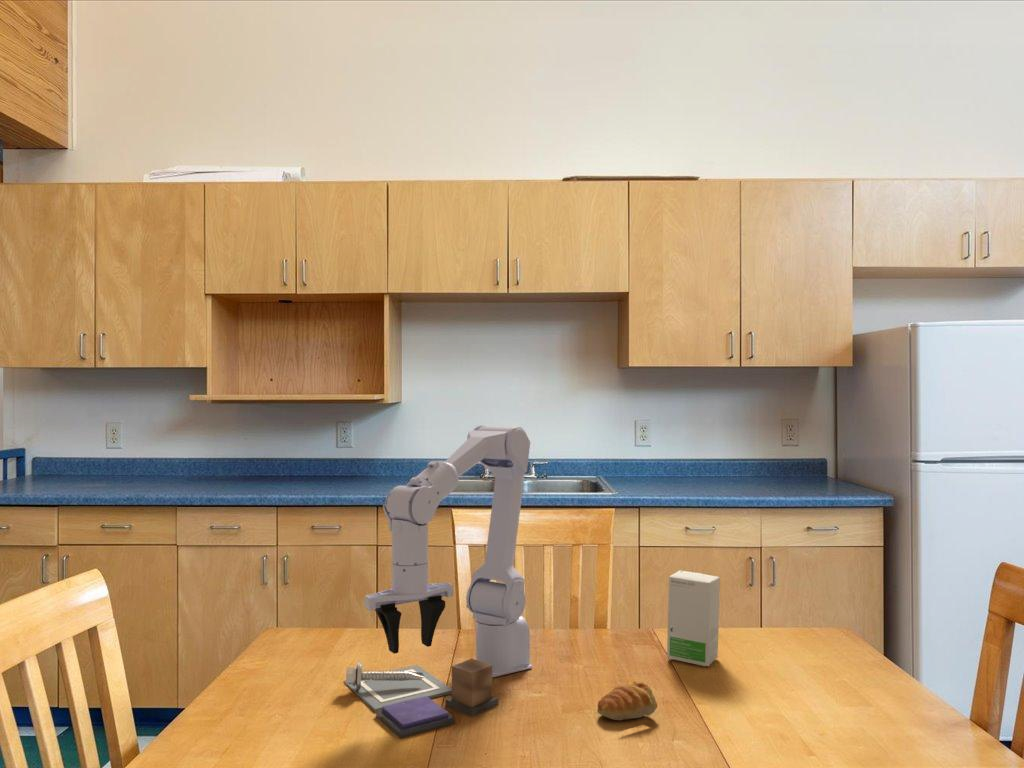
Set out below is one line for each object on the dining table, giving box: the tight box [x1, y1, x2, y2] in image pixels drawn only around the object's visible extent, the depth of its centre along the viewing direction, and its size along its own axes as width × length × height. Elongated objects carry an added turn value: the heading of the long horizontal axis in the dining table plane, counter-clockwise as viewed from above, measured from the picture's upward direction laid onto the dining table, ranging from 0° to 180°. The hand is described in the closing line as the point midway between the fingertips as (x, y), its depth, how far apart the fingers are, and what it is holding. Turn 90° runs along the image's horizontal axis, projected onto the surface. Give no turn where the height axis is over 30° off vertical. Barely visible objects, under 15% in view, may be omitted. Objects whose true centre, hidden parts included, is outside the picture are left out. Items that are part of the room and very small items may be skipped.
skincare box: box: [666, 569, 721, 667], centre depth 145 cm, size 8×7×16 cm
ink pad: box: [375, 696, 456, 739], centre depth 118 cm, size 9×9×2 cm
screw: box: [345, 660, 424, 692], centre depth 129 cm, size 13×5×5 cm, turn 101°
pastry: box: [596, 681, 658, 721], centre depth 120 cm, size 9×7×4 cm
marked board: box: [343, 664, 452, 713], centre depth 130 cm, size 14×14×1 cm
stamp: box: [445, 658, 499, 718], centre depth 123 cm, size 6×6×6 cm
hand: (410, 648), depth 121 cm, fingers open, 5 cm apart
